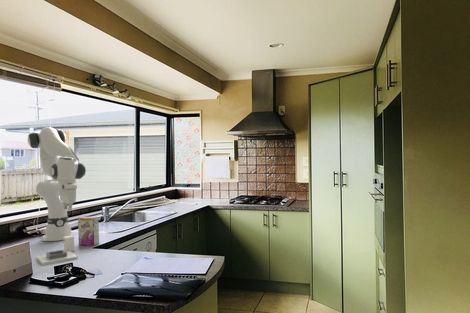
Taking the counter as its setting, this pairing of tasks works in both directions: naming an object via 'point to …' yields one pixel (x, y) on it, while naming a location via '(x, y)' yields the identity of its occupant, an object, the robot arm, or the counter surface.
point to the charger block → (69, 243)
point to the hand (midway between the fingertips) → (67, 210)
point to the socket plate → (56, 257)
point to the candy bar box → (88, 230)
